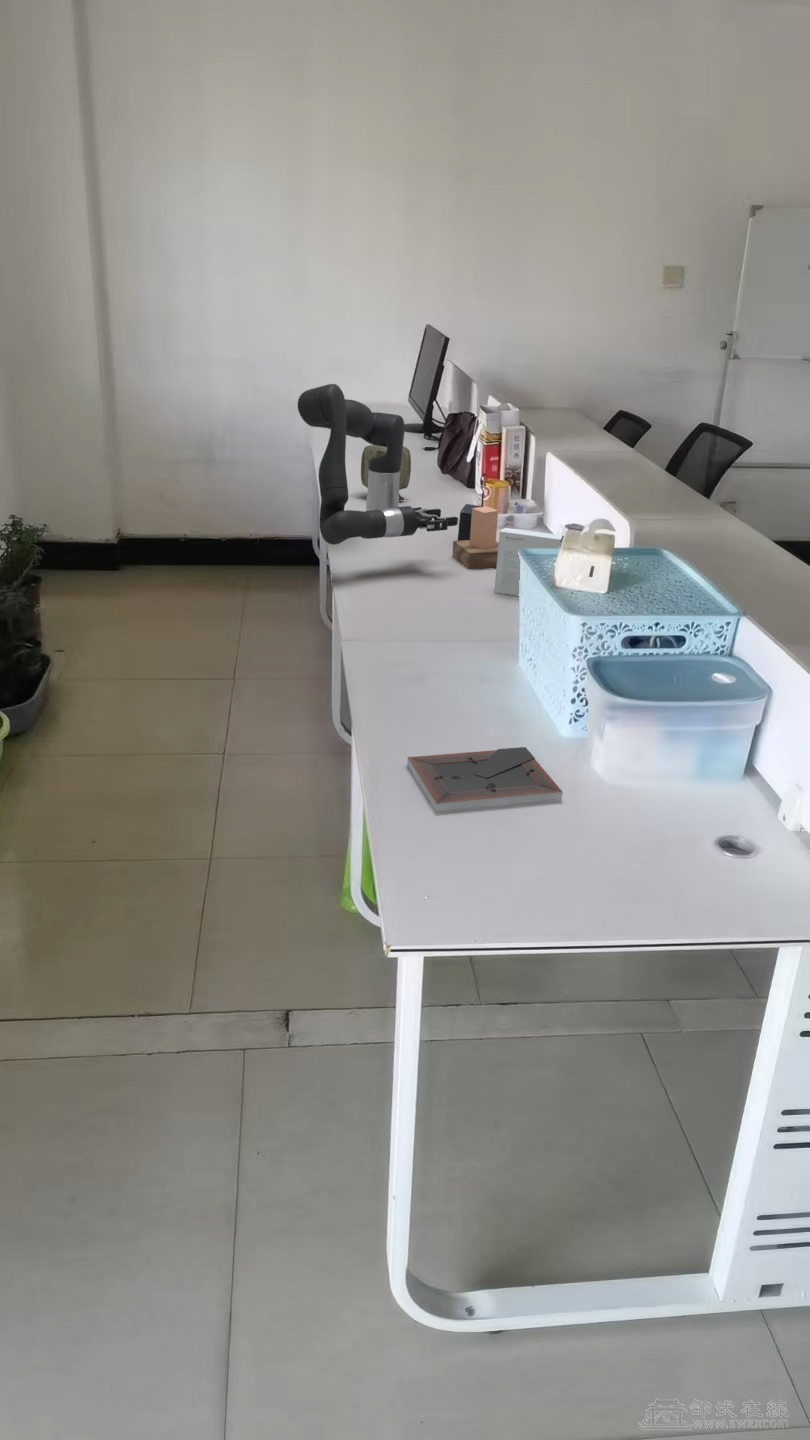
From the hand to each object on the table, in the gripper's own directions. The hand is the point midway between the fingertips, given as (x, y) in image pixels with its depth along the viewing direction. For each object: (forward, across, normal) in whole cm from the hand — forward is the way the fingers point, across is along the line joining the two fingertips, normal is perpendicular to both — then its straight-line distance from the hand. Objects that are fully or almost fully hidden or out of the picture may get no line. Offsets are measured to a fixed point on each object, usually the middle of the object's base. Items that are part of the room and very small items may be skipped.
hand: (448, 516), depth 292 cm
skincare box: (+8, -31, +14) cm, 34 cm away
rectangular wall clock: (-60, -109, +13) cm, 125 cm away
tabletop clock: (+19, +69, +14) cm, 73 cm away
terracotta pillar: (+11, -1, +9) cm, 14 cm away
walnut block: (+11, -1, +14) cm, 18 cm away
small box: (+18, +15, +14) cm, 27 cm away
